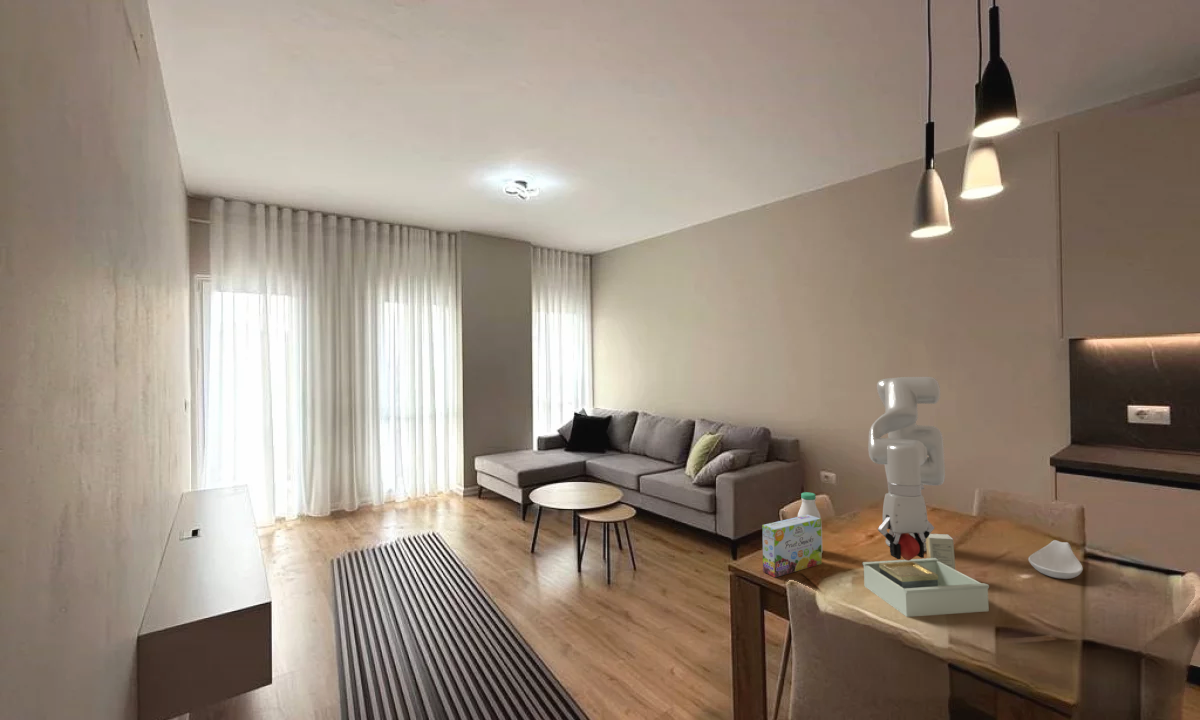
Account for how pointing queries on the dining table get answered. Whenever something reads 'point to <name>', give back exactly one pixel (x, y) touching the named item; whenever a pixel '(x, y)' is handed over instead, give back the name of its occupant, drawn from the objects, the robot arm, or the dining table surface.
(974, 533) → the dining table surface
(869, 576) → the box
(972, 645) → the dining table surface
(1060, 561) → the spoon rest
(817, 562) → the snack box
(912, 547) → the onion
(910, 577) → the tin
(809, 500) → the milk bottle
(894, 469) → the robot arm
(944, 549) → the skincare box
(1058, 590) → the dining table surface
